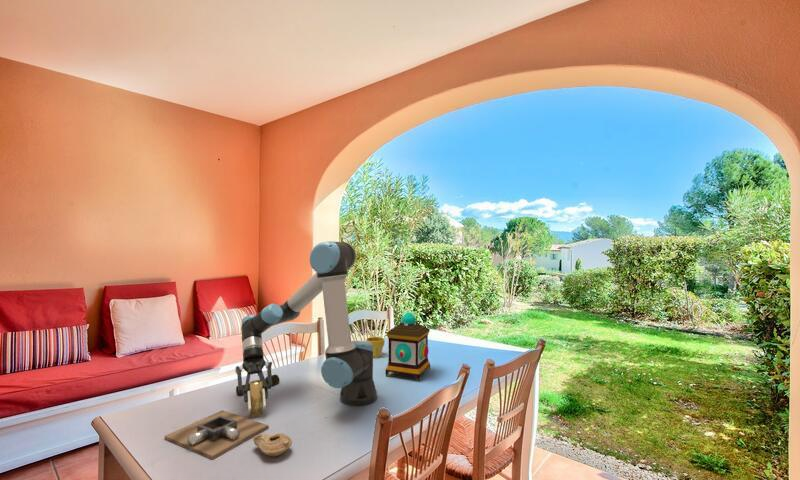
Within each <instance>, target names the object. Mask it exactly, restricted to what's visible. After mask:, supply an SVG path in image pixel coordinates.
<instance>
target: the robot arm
mask: <svg viewBox="0 0 800 480" xmlns="http://www.w3.org/2000/svg"><path fill="white" fill-rule="evenodd" d="M356 259H357V252H356V250H355V248H354V247H353V246H352V245H351V244H350V243H348V242H346V241H332V240H331V241H323V242H319V243H316V245H314V247H313V249H312V250H311V252H310V254H309V264H310V267H311V269H313V272H315V273H314V274H313V275H312V276H310V278H308V280H307V281H305V283H303V284H302V286H300V287H299V288H298V289H297V291H295V292H294V293H293V294H292V295H291V296H290V297H289V298H288V299H287V300H286V301H285V302H284V303H282V304H280V305H278V304H275V303H270V304H269V305H267V306H265V307H264V308H263V309H262V310H260V311H259V312H258V313H257V314H248V316H247V315H246V316H245V317H244V316H243V318H242V320H241V328H240V330H241V340H242V341H241V342H242V362H243V363H242V364H241V365H239V366H238V365H237V366H235V373H236V375H237V376H236V377H237V386H238V392H239V393H243V394H242V395H243V402H244V403H247V412H248V413H249V412H250V411H251V401H250V391H248V386H249V383H250V382H251V380H250V379H251V375H253V374H257V376H258V378H259V380H262V387H263V388H262V410H265V409H266V406H267V403H266V401H267V399H268V397H269V389H272V387H273V386H272V375H273V374H272V367H273V362H272V361H269V362H267V361H266V360H265V358H264V350H263V348H264V346H263V337H262V336H263V335H262V334H263V333H264V332H266V331H268V329H270V328H271V327H273V326H276V325H279V324H282V323H285V322H290V321H293V320H295V319H297V318H299V317H300V315H301V311H302V310H303V309H304V308H305V307H306V306H308V305H309V304H310V303H311V302H312V301H313V300H314V299H315V298H316V297H317V296H319V294H320V293H322V297H323V306H324V314H325V315H324V316H325V324H326V333H327V344H328V346H327V347H326V348H325V350H324V354H325V360H324V361H323V363H322V365H321V368H320V372H321V377H322V380H323V381H324V382H325V383H326V384H328V386H329V387H331V388H334V389H340V392H339V400H340V402H341V403H342V404H345V405H348V406H352V407H353V406H355V407H356V406H357V407H359V406H366V405H369V404H370V405H371V404H372V403H375V401H376V400H377V398H378V391H377V389H376V385H375V382H374V358H373V345H372V344H371V343H369V342H366V340H365V341H364V340H363V341H362V340H352V337H351V328H350V317H349V310H348V300H347V291H346V281H345V280H346V278H347V277H348V275H349V272H348V271H349V270H350V269H352V267H353V266H355V263H356ZM264 367H265V368H266V377H268V385H267V383H266V381H265V379H266V377H265V376H264V372H263V369H264ZM243 370H244V371H245V372H246V373H247V374H246V379H245V383H244V385H245V388H242V385H243V381H242V379H243V378H242V377H243V376H242V373H243Z"/></svg>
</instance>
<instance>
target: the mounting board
mask: <svg viewBox="0 0 800 480" xmlns="http://www.w3.org/2000/svg"><path fill="white" fill-rule="evenodd" d="M220 415H221V416H224V417H227V418H230V419H233V420H236V421H237V429H238V430H240V436H239V438H238V439H236V440H233V439H230V438H227V437H225V436H224V437H222V438H220V439H218V440H217V441H215V442H213V441H211V440H208V439H205V440H203V441H201V442H199V443H197V444H195V445H193V446H190V445H189V444H188V441H187V439H188V437H189V436H190V435H193V434H195V433H197V426H198V425H200V424H203V423H205V422H207V421H209V420H212V419H214V418H216V417H218V416H220ZM220 427H221V426H219V427H217V428H215V429H214V430H216V429H218V428H220ZM269 427H270V426H269V424H265V423H264V422H263V423H262V422H260V421H256V420H255V419H254V420H253V419H251V418H247V417H244V416H242V415H237V414H234V413H232V412H229V411H226V410H223V409H222V410H219V411H218V412H215V413H212V414H211V415H208V416H206V417H204V418H202V419H199V420H197V421H196V422H193V423H191V424H188V425H186V426H184V427H181V428H180V429H177V430H174V431H172V432H171V433H168V434H166V435H164V440H166V441H168V442H171V443H173V444H175V445H178V446H180V447H183V448H184V449H187V450H189V451H192V452H194V453H196V454H198V455H200V456H203V457H205V458H207V459H209V460H215V459H216V458H218V457H220V456H222V455H224V454H225V453H227V452H228V451H230V450H232V449H234V448H235V447H236V448H237V447H238V446H240V445H241V444H243V443H245V442H247V441H248V440H250V439H252V438H254V437H255V436H256V435H260V434H261V433H263V432H265V431H266V430H268V429H269Z"/></svg>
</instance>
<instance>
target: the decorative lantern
mask: <svg viewBox="0 0 800 480" xmlns="http://www.w3.org/2000/svg"><path fill="white" fill-rule="evenodd" d="M416 319H417V318H416V316H415V315H414V314H413V313H412V312H405V314H403V315H402V317H401V321H400V322H399V324H398V325H396V326H394V327H392V328H391V329H390V330H388V332H386V337H387V338H388V357H387V359H388V364H387V365H386V368H385V376H386V377H389V376H390V372H391V373H397V374H404V375H411V376H415V377H416V381H417V382H419V381H420V380H421V376H422V375H423V373H424V372H425V371H430V370H431V363H430V361H429V359H428V358H429V356H428V355H429V346H428V345H429V343H428V342H429V333H430V330H431V329H430V328H429V327H427V326H426V325H422V324H420V322H418V321H417V320H416Z"/></svg>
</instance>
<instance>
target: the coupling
mask: <svg viewBox="0 0 800 480" xmlns="http://www.w3.org/2000/svg"><path fill="white" fill-rule="evenodd" d="M249 383H250V401H251V411H250V412H248V414H249V417H250V418H258V417H260V416H262V415H263V403H262V389H263V388H262V380H260V379H254V380H250V381H249Z"/></svg>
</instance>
